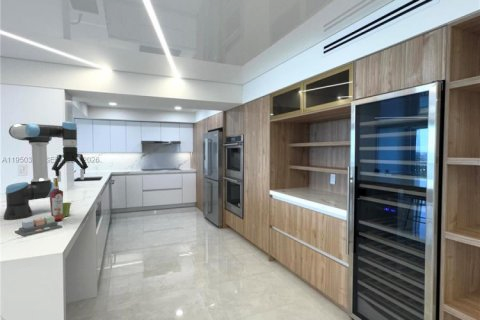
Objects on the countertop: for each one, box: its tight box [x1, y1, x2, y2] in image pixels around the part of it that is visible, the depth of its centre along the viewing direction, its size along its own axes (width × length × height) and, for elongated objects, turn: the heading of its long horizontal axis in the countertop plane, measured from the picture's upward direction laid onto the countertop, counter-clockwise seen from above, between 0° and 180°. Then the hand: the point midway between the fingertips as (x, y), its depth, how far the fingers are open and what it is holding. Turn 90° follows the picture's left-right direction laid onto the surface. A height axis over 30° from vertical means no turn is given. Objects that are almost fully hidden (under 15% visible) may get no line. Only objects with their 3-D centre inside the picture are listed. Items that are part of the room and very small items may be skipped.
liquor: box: [49, 177, 64, 222], centre depth 166 cm, size 7×7×28 cm
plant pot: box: [63, 202, 72, 218], centre depth 178 cm, size 9×9×9 cm
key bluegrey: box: [21, 220, 34, 229], centre depth 143 cm, size 4×4×3 cm
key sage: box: [43, 215, 55, 224], centre depth 152 cm, size 4×4×3 cm
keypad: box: [14, 221, 63, 237], centre depth 148 cm, size 13×18×3 cm
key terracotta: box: [32, 217, 45, 226], centre depth 147 cm, size 4×4×3 cm
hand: (71, 180), depth 161 cm, fingers open, 13 cm apart
